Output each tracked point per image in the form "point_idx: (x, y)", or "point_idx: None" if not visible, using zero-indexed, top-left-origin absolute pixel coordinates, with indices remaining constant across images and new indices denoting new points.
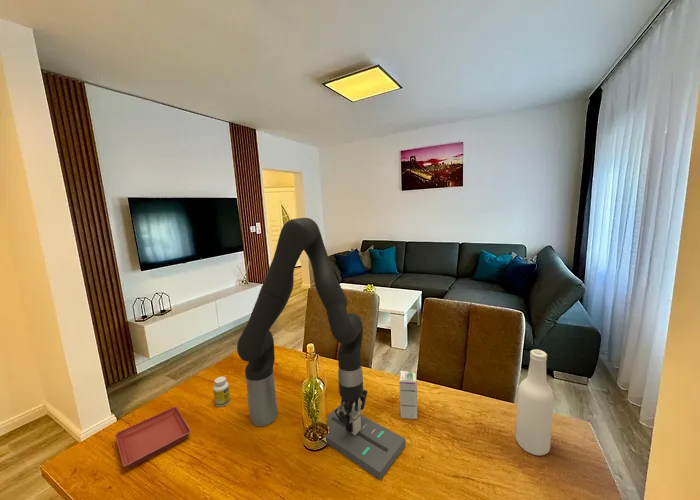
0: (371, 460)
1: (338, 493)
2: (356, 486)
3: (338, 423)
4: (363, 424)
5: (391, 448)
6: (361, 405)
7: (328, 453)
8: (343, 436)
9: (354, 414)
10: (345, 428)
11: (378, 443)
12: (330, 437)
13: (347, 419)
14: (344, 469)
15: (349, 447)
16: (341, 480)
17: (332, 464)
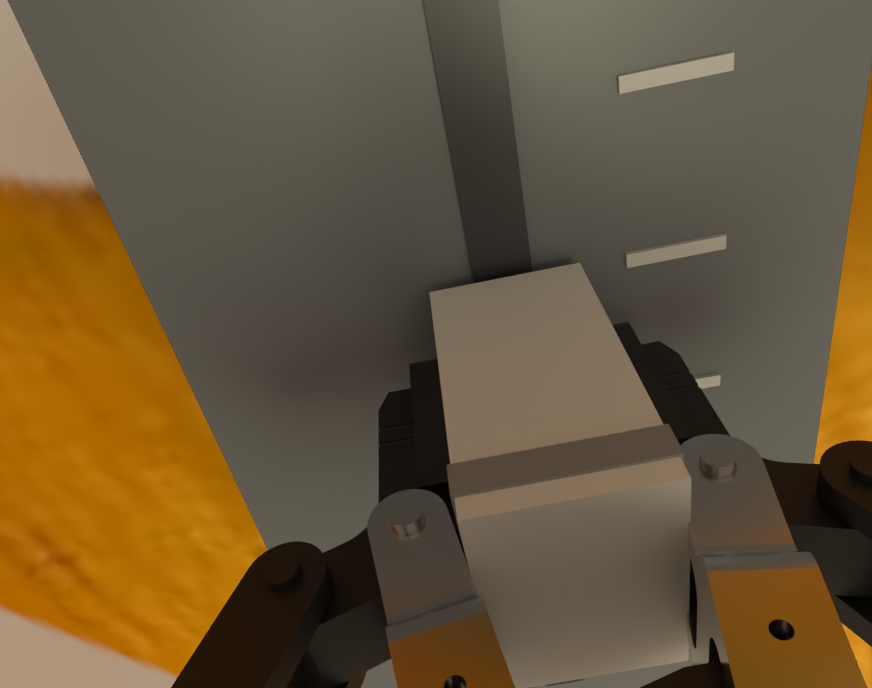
0: (382, 676)
1: (23, 612)
2: (184, 636)
3: (437, 85)
4: (695, 356)
5: (610, 679)
6: (862, 623)
7: (96, 283)
8: (338, 343)
9: (575, 643)
10: (378, 419)
11: None
12: (157, 244)
13: (377, 664)
14: (170, 507)
15: (299, 498)
16: (94, 559)
17: (82, 413)
